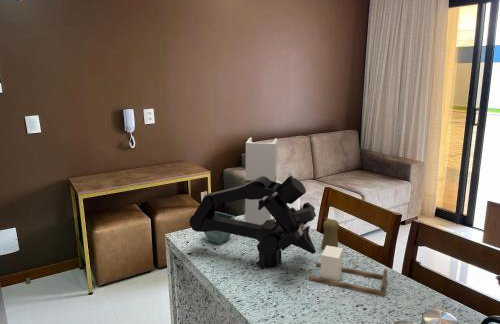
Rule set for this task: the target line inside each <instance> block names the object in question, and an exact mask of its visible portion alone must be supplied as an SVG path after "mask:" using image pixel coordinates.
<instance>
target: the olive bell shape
mask: <svg viewBox="0 0 500 324" xmlns="http://www.w3.org/2000/svg"><path fill="white" fill-rule="evenodd" d="M322 224H323V229H324V231H323V238H322V241H321V246H320V249H321V251H324V249H325V247H326V245H327V246H333V247H338V248H339V243H338V242H339V241H338V239H339V238H338V230H339V228H340V223H339V221H337V220H336V219H332V218H331V219H330V218H329V219H326V220H324V222H323V223H322Z"/></svg>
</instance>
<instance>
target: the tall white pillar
mask: <svg viewBox="0 0 500 324" xmlns="http://www.w3.org/2000/svg"><path fill="white" fill-rule="evenodd" d="M277 159H278V138H274V140H273V141H270V142H253V137H249V138H247V141H246V142H245V177H244V178H245V183H244V185H245V184H247V183H249V182H251V181H253V180H255V179H257V178H259V177H262V176H264V177H267V178H268V179H269V180H270V181H274V182H277V172H278V171H277V168H278V167H277V165H278V163H277V162H278V160H277ZM267 197H268V196H265V197H264V198H262V199H263V200H264V199H266V198H267ZM260 200H261V199H256V200H249V199H244V203H245V205H244V208H245V209H244V211H245V213H244V216H245V217H244V222H249V223H253V224H258V225H262V224H263V223H264V222H265V221H266V220H271V221H274V222H275V221H276V220H275V219H274V218H272V215H271V214H270V213H269V211H268V210H267V209H266V208H265V207H263V208H262V209H261V210H258V206H259V201H260Z"/></svg>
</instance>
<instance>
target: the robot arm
mask: <svg viewBox="0 0 500 324" xmlns="http://www.w3.org/2000/svg"><path fill="white" fill-rule="evenodd" d="M275 193H276V194H275ZM306 193H307V190H306V187H305V185H304V184H303V183H302V182H301V181H300V180H298V179H297V178H295V177H293V175H288V177H287V178H286V179H285V180H284V181H283V182H282V183H280V182H277V181H276V182H274V181H270V180H269V179H268V178H267V177H264V176H262V177H259V178H257V179H255V180H253V181H251V182H249V183H247V184H245V183H244V184H242V185H239V186H234V187H230V188H227V189H222V190H219V191H215V192H213V191H212V192H209V193H208V194H206V195H204V196H203V197H202V200H201V202H200V204H199V205H198V207H197V208H196V210H195V212H194V214H193V215H192V216H190V217H189V225H190V227H191V229H192V231H194V232H197V233H198V232H199V233H204V232H209V231H220V232H225V233H230V234H231V235H236V236H240V237H244V238H249V239H253V240H256V241H257V242H258V244H257V245H256V249H257V251H258V261H256V262H255V265H257V266H258V267H260V268H261V269H262V270H264V269H274V268H278V266H279V264H281V263H282V251H284V250H286V249H288V248H289V247H290V246H292V245H293V246H295V247H297V248H300V249H302V250H304V251H306V252H308V253H310V254H315V253H316V252H317V251H316V248H315V246H314V243H313V240H312V239H311V237H310V233H309V232H310V226H311V225H308V226H305V225H306V224H307V223H309V222H312V221H314V219H315V217H317V215H316V211H315V210H316V208H315V206H314V205H312V204H311V203H310V202H304V203H303V205H302V207H301V208H300V209H295V207H290V206H289V205H292V204H294V203H295V202H296V201H297V200H298V199H300V198H301V197H302V196H303V195H305V194H306ZM274 194H275V195H274ZM265 196H268V197H267V198H266V199H264V200H263V199H262V198H264V197H265ZM245 199H249V200H256V199H261V200H260V201H259V206H258V210H261V209H262V208H263V207H265V208H266V209H267V210H268V211H269V213H270V214H271V217H272V219H275V222H274V221H271V220H266V221H265V222H264V223H263V224H262V225H258V224H253V223H249V222H245V220H244V221H243V220H238V219H235V220H234V219H229V218H224V217H220V216H219V215H217V214H216V213H215V212H216V208H217V205H222V204H227V203H230V202H234V201H239V200H245ZM288 204H289V205H288Z"/></svg>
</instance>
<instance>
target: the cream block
mask: <svg viewBox="0 0 500 324" xmlns="http://www.w3.org/2000/svg"><path fill="white" fill-rule="evenodd" d="M343 249H344V248H343V247H339V246H338V247H333V246H327V245H326V247H325V249H324V251H323V250H322V251H323V252H322V253H321V255H320V258H321V259H320V263H321V268H320V273H319V274H320V275H319V277H320V278H324V279H329V280H334V281H339V279H340V277H341V274H342V272H341V270H342V267H343V254H344V250H343Z"/></svg>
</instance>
